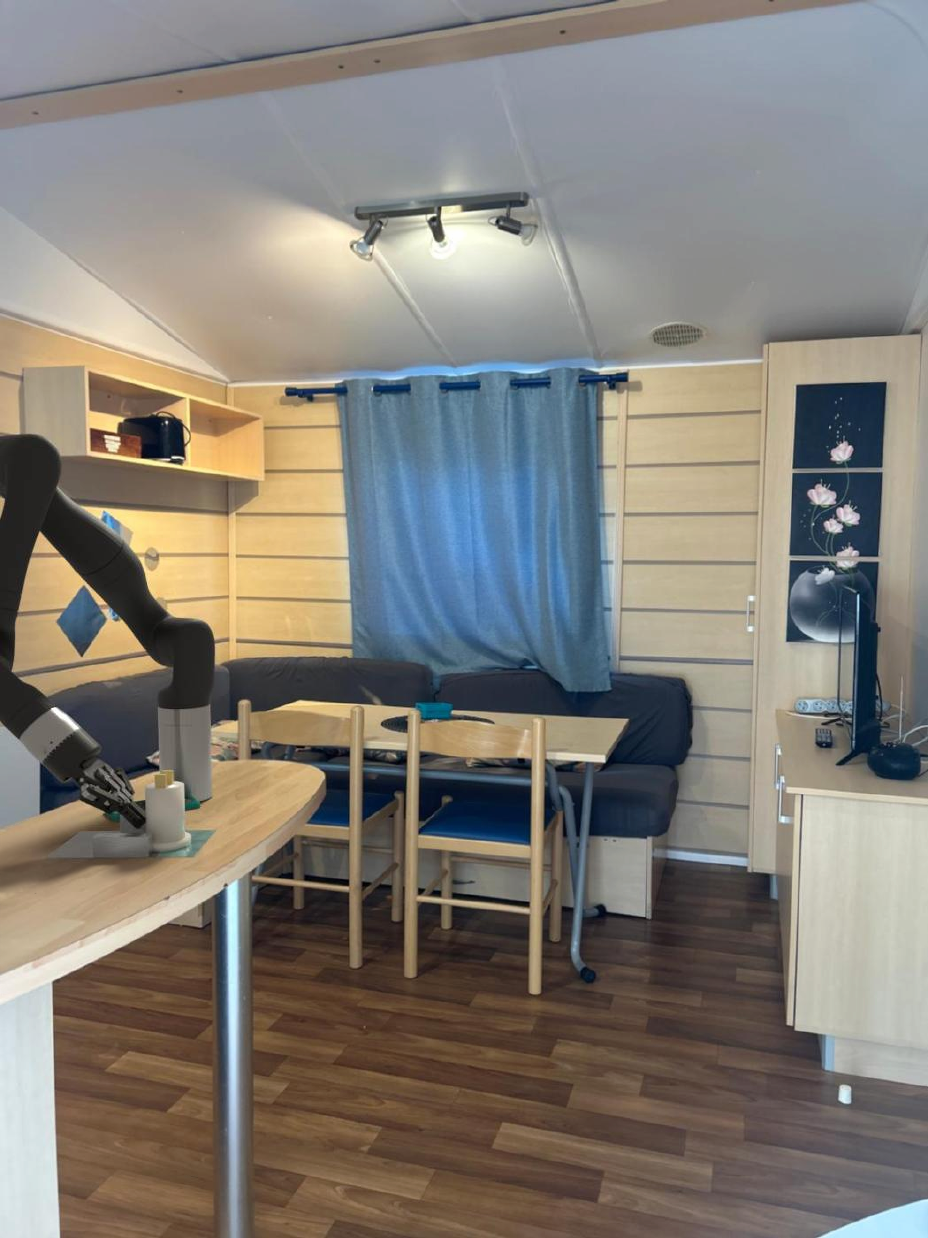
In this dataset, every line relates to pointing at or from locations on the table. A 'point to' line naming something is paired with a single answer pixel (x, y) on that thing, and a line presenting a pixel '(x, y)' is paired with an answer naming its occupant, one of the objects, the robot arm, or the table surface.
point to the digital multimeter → (188, 799)
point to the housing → (125, 844)
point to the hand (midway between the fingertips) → (144, 823)
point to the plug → (166, 813)
